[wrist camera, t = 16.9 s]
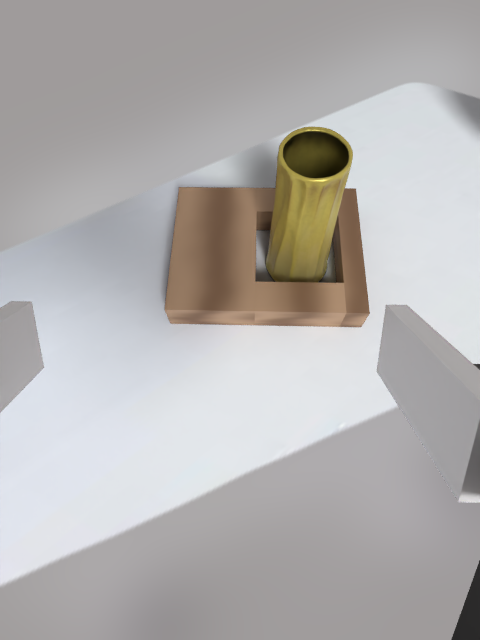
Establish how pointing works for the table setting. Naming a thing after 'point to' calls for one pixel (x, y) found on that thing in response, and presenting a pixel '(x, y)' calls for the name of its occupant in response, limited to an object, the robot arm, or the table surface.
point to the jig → (240, 265)
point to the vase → (306, 203)
